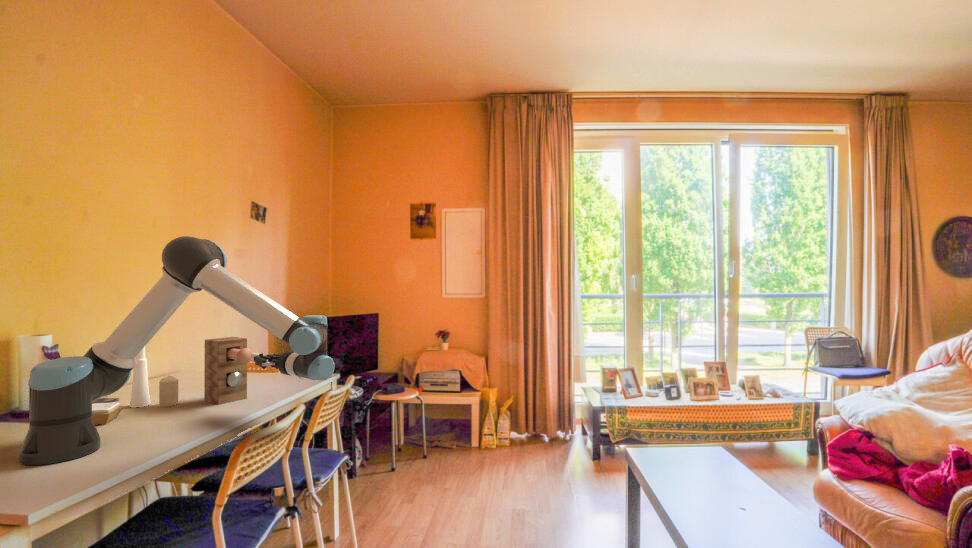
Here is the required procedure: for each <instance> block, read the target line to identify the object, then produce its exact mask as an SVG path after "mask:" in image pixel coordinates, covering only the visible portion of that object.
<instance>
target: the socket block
mask: <svg viewBox="0 0 972 548" xmlns="http://www.w3.org/2000/svg"><path fill="white" fill-rule="evenodd" d="M227 348H234V349H243V348H248V338H246V337H237V336H228V337H227V336H225V337H217V338H208V339H207V338H206V339H204V396H203V397H204V400H205V401H204V402H208V401H209V403H212V402H213V404H215V403H216V404H217V405H222V403H223V404H228V403H231V401H232V402H236V401H240V400H246V399H248V363H240V362H239V361H238V360H234V359H228V358H226V349H227ZM232 372H239V373H241V374H242V376H243V381H242V383H241V384H240V385H239V386H237V387H232V386H229V385H228V384H227V383H226V373H232ZM227 402H228V403H227Z"/></svg>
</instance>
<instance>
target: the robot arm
mask: <svg viewBox="0 0 972 548" xmlns="http://www.w3.org/2000/svg"><path fill="white" fill-rule="evenodd" d="M227 260H228V259H227V255H226V253H225V250H224V249H223V248H222V247H221V245H219V244H218V243H216V242H213V241H212V240H209V239H205V238H198V237H194V236H189V235H188V236H187V235H186V236H185V235H184V236H178V237H175V238H174V239H171V240H169V241H168V243H167V244H166V245H165V246H164V248H163V249H162V252H161V262H162V265H163V266H162V267H161V271H162V276H161V277H160V278H159V280H157V282H156V283H155V284H154V285H153V287H151V289H150V290H149V291H148V292H147V293H146V294H145V295H144V296H143V298H142V299H141V300H140V301H139V302H138V303H137V305H135V307H134V308H133V309H132V310H131V311H130V312H129V314H127V315H126V317H125V318H124V319H123V320H122V321H121V322H120V323H119V325H118V326H116V328H115V329H114V330H113V331H112V332H111V334H110V335H109V336H108V337H107V338H106V339H105V340H104V341H101V342H96V343H94V344H93V345H92V346H91V347H90V348H89V349H88V350H87V351H86V352H85V353H84V355H83V356H78V355H76V356H65V357H57V358H55V359H54V358H53V359H50V360H45V361H42V362H39V363H38V364H36V365H34V366H33V367H31V370H30V372H29V373H30V374H29V379H28V381H27V382H28V390H29V391H28V398H29V399H28V400H29V405H28V407H29V408H28V411H29V412H28V413H29V414H28V415H29V416H28V417H29V418H28V419H29V420H28V423H29V425H28V430H27V432H26V435H25V438H24V439H23V441H22V445H21V446H20V450H19V451H18V463H19V464H20V465H25V466H42V465H51V464H57V463H62V462H67V461H70V460H74V459H75V460H76V459H78V458H81V457H85V456H87V455H90V454H92V453H94V452H97V451H98V450H99V449H100V448H101V446H102V445H101V442H102V441H101V436H100V433H99V431H98V429H97V427H96V425H95V424H94V422H93V420H92V404H93V401H95V400H99V399H100V398H103V397H107V396H109V395H112V394H114V393H116V392H117V391H119V390H120V389H122V388H123V387H124V386H125V385H126V384H127V382H128V381H129V380H130V378H131V375H132V371H133V368H134V367H135V366H136V359H135V358H136V356H137V355H138V354H139V352H140V351H141V350H142V349H143V348H144V347H145V348H146V346H147V344H148V343H150V341H151V340H152V339H153V338H154V337H155V336H156V334H158V332H159V331H160V330H161V329H162V327H163V326H164V325H165V324H166V323H167V321H169V319H170V318H171V317H172V316H173V315H174V314H175V312H176V311H177V310H178V309H179V308H180V307H181V306H182V305H183V304H184V302H185V301H186V300H187V299H188V297H189V296H190V295H191V294H193V293H199V292H201V291H202V290H204V291H205V292H206V293H208V294H209V295H211V296H213V297H214V298H216V299H218V300H219V301H220V302H222V303H223V304H225V305H227V306H228V307H230V308H232V309H233V310H234V311H236V312H238V313H240V314H241V315H242V316H244V317H246V318H247V319H248V320H250V321H251V322H253V323H254V324H257V325H258V326H260V327H261V328H263V329H264V330H266V331H267V332H269V333H271V334H272V335H274V336H275V337H277V338H278V339H280V340H282V341H283V342H284V343H286V344H287V345H289V347H290V349H291V350H288V351H285V352H283V353H273V354H265V353H257V352H253V353H251V361H250V362H252V363H254V365H255V366H258V367H261V369H263V370H265V369H267V368H269V367H270V368H274V369H276V370H278V371H279V372H280V373H281V374H283V375H285V376H286V375H287V376H293V377H298V379H307V380H311V381H326V380H328V379H329V378H331V377H332V375H333V373H334V371H335V368H336V367H335V365H336V364H335V362H334V359H333V358H332V357H331V356H328V326H329V325H328V317H327V316H326V315H322V314H320V315H319V314H313V315H304V316H302V317H301V318H300V316H298V315H296V314H294V313H293V312H291V311H290V310H289V309H288V308H285V307H284V306H283V305H281V304H280V303H279V302H276V301H275V300H274V299H272V298H271V297H269V296H267V295H266V294H264V293H263V292H261V291H260V290H258V289H257V288H255V287H254V286H252V285H251V284H250V283H248V282H246V281H245V280H244V279H242V278H240V277H239V276H237V275H235V273H233V272H231V271H230V270H229V269H227V268H226V267H227V263H228V261H227Z"/></svg>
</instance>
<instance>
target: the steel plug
mask: <svg viewBox="0 0 972 548" xmlns="http://www.w3.org/2000/svg"><path fill="white" fill-rule="evenodd" d="M242 381H243V376H242V374H241V373H239V372H232V373H226V383H227V384H228V385H229V386H232V387H237V386H239V385H240V384H241V383H242Z"/></svg>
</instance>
